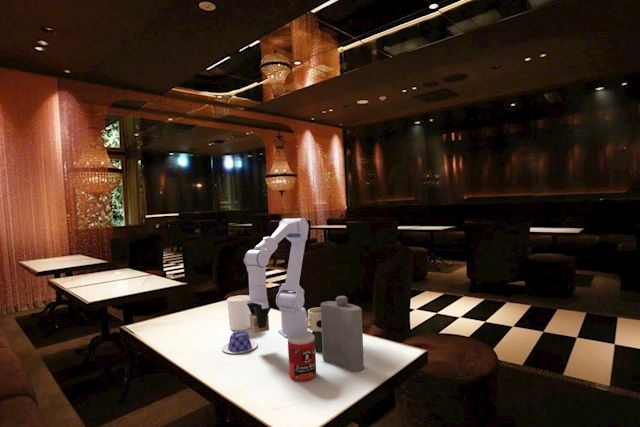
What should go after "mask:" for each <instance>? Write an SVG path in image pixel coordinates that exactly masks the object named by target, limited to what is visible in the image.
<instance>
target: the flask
mask: <svg viewBox="0 0 640 427" xmlns="http://www.w3.org/2000/svg"><path fill="white" fill-rule="evenodd" d="M320 307H321V324H322V347H323V350H322V359H323V360H324V361H325V362H328V363H332V364H334V365H338V366H340V367H343V368H345V369H347V370H348V371H350V372H352V373H353V372H354V373H355V372H361V371H363V370H364V369H365V361H364V360H365V358H364V338H363V337H364V335H363V334H364V333H363V313H362V312H363V310H362V307H360V306H358V305H356V304H352V303H348V297H347V296H345V295H339V296H338V295H337V297H336V298H335V300H327V301H322V302H321V303H320Z"/></svg>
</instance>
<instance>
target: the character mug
mask: <svg viewBox="0 0 640 427" xmlns="http://www.w3.org/2000/svg"><path fill="white" fill-rule="evenodd" d="M305 327H306V328H308V331H311V334H313V335H314V336H315V351H323V347H322V324H321V306H320V307H312V308H309V309H307V318H306V319H305Z"/></svg>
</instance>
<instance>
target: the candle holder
mask: <svg viewBox="0 0 640 427" xmlns="http://www.w3.org/2000/svg"><path fill="white" fill-rule="evenodd" d="M246 299H249V294H248V295H246V294H245V295H244V294H242V295H241V294H239V295H235V296H233V295H232V296H229V297H228V298H227V299H226V301H227V302H226V304H227V312H228V321H229V329H230V330H231V331H234V332H238V331H245V330H248V329H250V314H251V312H250V309H249V307H248V306H247V303H250V302H246Z"/></svg>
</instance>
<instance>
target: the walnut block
mask: <svg viewBox="0 0 640 427" xmlns="http://www.w3.org/2000/svg"><path fill="white" fill-rule="evenodd" d="M269 320H270V318H269V315H268V316H267V321H266V326H265V327H264V328H259V327H258V322H257V317H256V314H250V328H249V329H250V330H251V331H252V332H253V333H254V334H257V333H261V332H268V331H270V321H269Z"/></svg>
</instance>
